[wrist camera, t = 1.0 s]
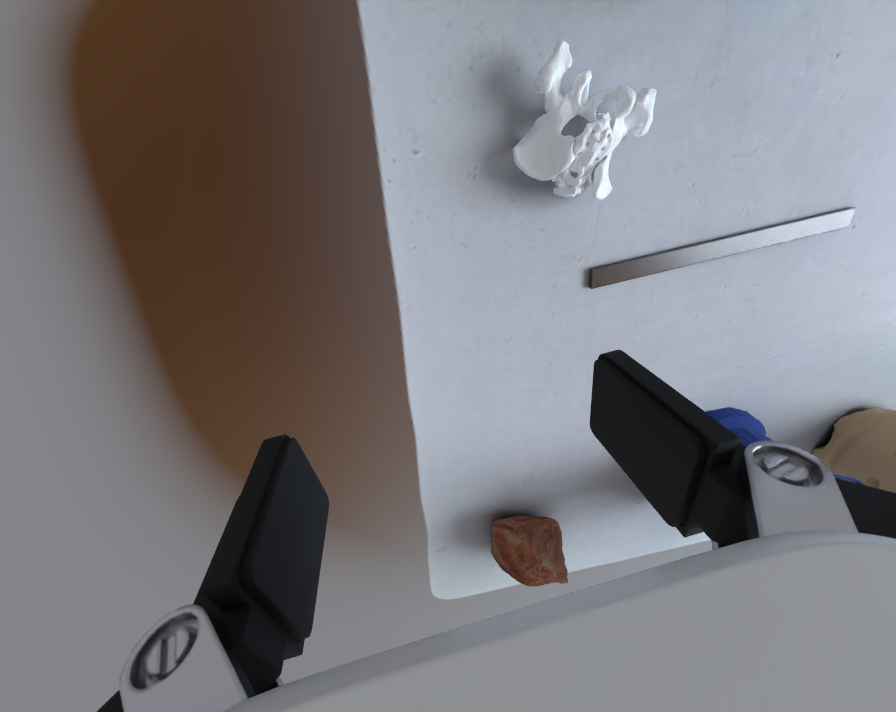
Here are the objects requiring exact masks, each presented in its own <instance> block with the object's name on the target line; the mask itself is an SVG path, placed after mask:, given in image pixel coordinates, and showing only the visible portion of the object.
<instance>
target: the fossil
mask: <svg viewBox="0 0 896 712" xmlns="http://www.w3.org/2000/svg"><path fill="white" fill-rule="evenodd" d="M492 529H493V530H492V534H491V553H492V555H493V557H494V559H495V560H496V562H497V563H498V564H499V566H500V567H501V569H502V570H503V571H505V572H506V573H508V574H509V575H510V576H511V577H513V578H514V579H516V580H517V581H518V582H520V583H522V584H524V585H527V586H540V585H544V584H549V583H554V582H558V583H562V584H563V583H568V579H567V569H566V566H565V559H564V555H563V552H562V533H561V529H560V527H559V524H558V522H557V521H556V520H554V519H552V518H548V517H537V516H530V515H519V516H513V517H509V518H504V519H498V520H495V521H493V522H492Z"/></svg>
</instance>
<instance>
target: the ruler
mask: <svg viewBox="0 0 896 712" xmlns="http://www.w3.org/2000/svg"><path fill="white" fill-rule="evenodd" d="M855 209H856V208H855V207H850V208H845V209H841V210H837V211H833V212H828V213H824V214H820V215H816V216H812V217H807V218H803V219H799V220H795V221H790V222H786V223H782V224H778V225H773V226H769V227H765V228H761V229H757V230H752V231H748V232H744V233H740V234H735V235H731V236H727V237H723V238H718V239H714V240H710V241H706V242H702V243H697V244H693V245H689V246H685V247H680V248H676V249H672V250H668V251H663V252H659V253H655V254H651V255H647V256H642V257H638V258H634V259H630V260H625V261H621V262H617V263H613V264H608V265H604V266H600V267H596V268H592V269H590V277H589V288H591V289H593V288H597V287H601V286H605V285H609V284H614V283H618V282H622V281H626V280H630V279H634V278H638V277H643V276H647V275H651V274H655V273H659V272H663V271H667V270H672V269H676V268H680V267H684V266H688V265H692V264H696V263H701V262H705V261H709V260H713V259H717V258H721V257H725V256H730V255H734V254H738V253H742V252H746V251H750V250H754V249H759V248H763V247H767V246H771V245H775V244H779V243H783V242H788V241H792V240H796V239H800V238H804V237H808V236H812V235H817V234H821V233H825V232H829V231H833V230H837V229H841V228H846V227H848V226H849V223H850V221H851V219H852V216H853V214H854V211H855Z"/></svg>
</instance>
